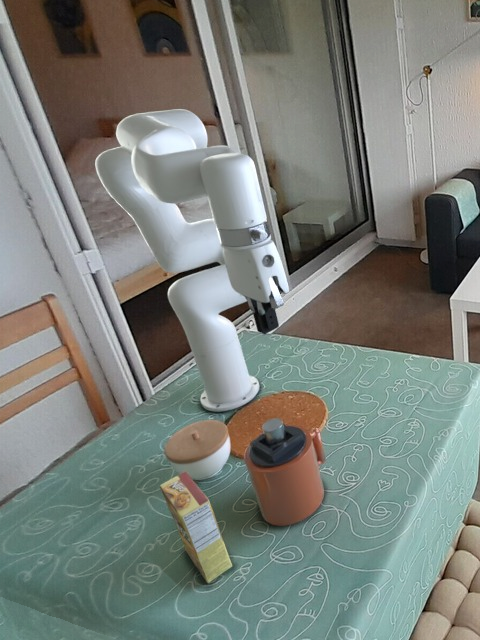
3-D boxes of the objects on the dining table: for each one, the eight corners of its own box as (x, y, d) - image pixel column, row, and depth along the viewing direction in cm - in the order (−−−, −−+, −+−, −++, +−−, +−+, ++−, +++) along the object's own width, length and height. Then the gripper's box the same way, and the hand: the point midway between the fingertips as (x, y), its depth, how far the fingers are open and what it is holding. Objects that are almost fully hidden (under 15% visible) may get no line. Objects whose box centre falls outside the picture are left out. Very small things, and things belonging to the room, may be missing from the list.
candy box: (185, 551, 83) (156, 486, 76) (211, 534, 86) (186, 469, 79) (208, 585, 78) (179, 518, 71) (235, 565, 81) (210, 499, 74)
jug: (248, 508, 91) (227, 446, 84) (308, 459, 101) (294, 400, 94) (287, 536, 85) (268, 473, 79) (347, 481, 96) (335, 421, 89)
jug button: (262, 440, 85) (258, 426, 84) (278, 428, 87) (274, 415, 86) (274, 447, 83) (270, 434, 82) (290, 435, 86) (286, 422, 85)
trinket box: (169, 495, 93) (153, 458, 89) (184, 454, 103) (170, 418, 98) (231, 482, 96) (218, 446, 92) (241, 443, 105) (230, 408, 101)
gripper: (294, 234, 80) (314, 331, 88) (237, 218, 87) (261, 309, 95) (251, 249, 74) (277, 352, 82) (195, 231, 81) (224, 327, 89)
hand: (268, 329), depth 89 cm, fingers closed
